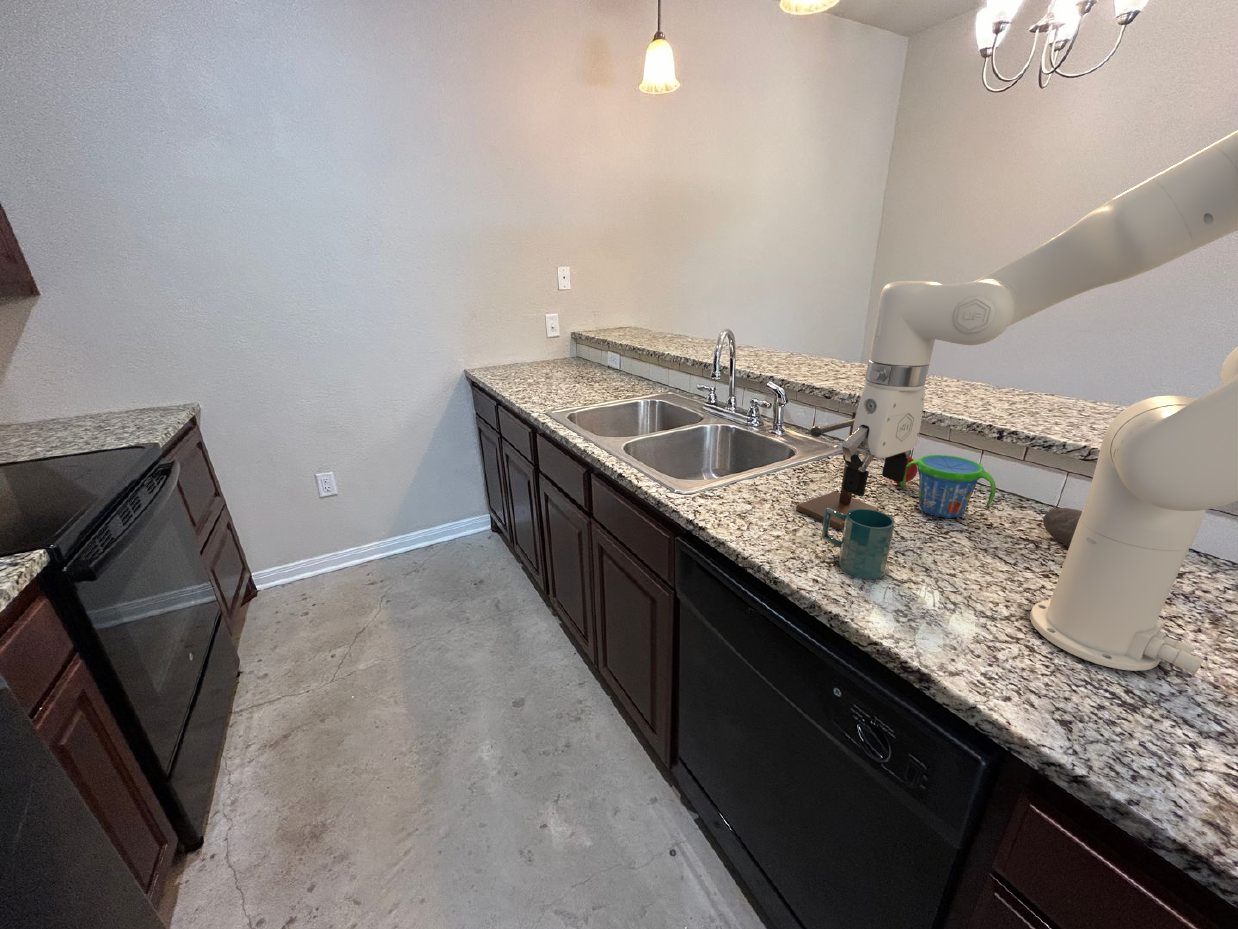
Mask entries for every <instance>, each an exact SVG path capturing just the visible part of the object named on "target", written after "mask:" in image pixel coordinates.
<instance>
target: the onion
mask: <svg viewBox="0 0 1238 929" xmlns="http://www.w3.org/2000/svg"><path fill="white" fill-rule="evenodd" d="M906 458H908V462H907V465H908V464H909V463H910V462H912V461H914V460H915V459H914V458H912V457H911V456H910V457H906ZM917 473H918V466H917V465H916V464H913V465H911V466H910V467H909V468H908V469H907V470H906V483H908V482H911V481H912V480H914V479H915V477H916V476H917ZM892 481H893V482H894V483H895V484H896V485H898V486H901V483H900V482H897V481H894V480H892Z"/></svg>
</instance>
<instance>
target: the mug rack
mask: <svg viewBox="0 0 1238 929" xmlns="http://www.w3.org/2000/svg"><path fill="white" fill-rule="evenodd" d="M856 413H857V410H855V411H853V412H852V415H851V419H847V420H842V421H839V422H834V423H831V424H827V425H823V426H819V425H814V426H812V427H810V430H809V434H810V436H811V437H812V438H819V437H821V436H822V434H826V433H831V432H834V431H838V430H841V429H845V428H849V433H848V438H849V437H850V436H851V435H852V431H853V426H854V421H855V417H856ZM846 467H847V466H845V465H844V466H843V474H842V480H841V481H842V482H841V486H840V491H839V492H838V491H836V490H835V491H832V492H829V493H826V494H823V495H820V496H818V497H815V498H812V499H809V500H806V501H803V502H801V503H797V504H796V511H798V512H800V513H801V514H802V513H803V514H804V515H807V516H808V517H811V518H813V519H815V520H817V521H820V522H821V523H823V522H824V515H825V509H826V508H830V509H833V510H835V511H837V512H840V513H842V514H844V515H846V514H847V512H848V511H850V510H853V509H860V508H862V509H872V510H876V511H880V508H879V507H877V506H874V505H872V504H869V503H866V502H864V501H861V500H859V499H856V498H854V497H852V496H853V494H852V493H850V492H847V491H845V490H844V489H843V484H844V479H845V473H846ZM844 525H845V521H843V520H841V519H838V518H836V517H834V516H831V518H830V524H829V527H833V528H835V529H837V530H841V529H844Z"/></svg>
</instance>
